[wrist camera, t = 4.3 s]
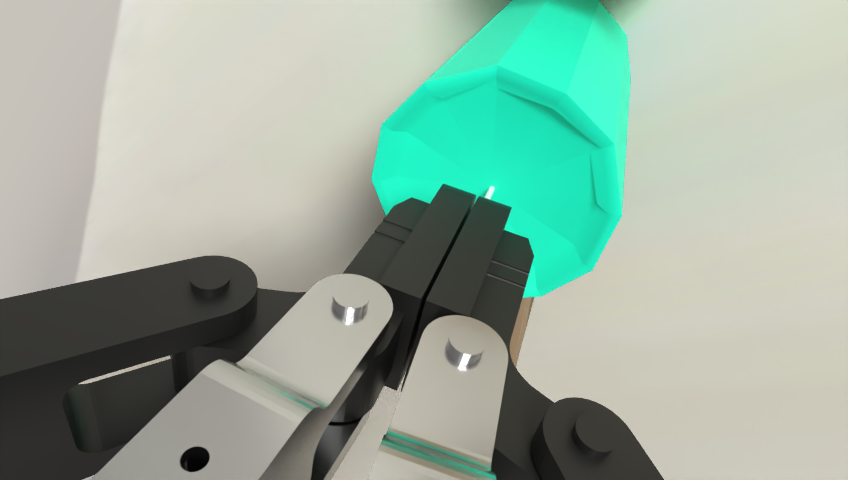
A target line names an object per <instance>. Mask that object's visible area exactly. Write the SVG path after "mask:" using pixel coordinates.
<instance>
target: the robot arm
mask: <svg viewBox="0 0 848 480" xmlns="http://www.w3.org/2000/svg"><path fill="white" fill-rule="evenodd" d="M475 200H476V195H475V194H472V193H469V192H467V191H464V190H461V189H458V188H455V187H452V186H449V185H446V184H442V186H441V187H440V189H439V190H438V192H437V193H436V195H435V196H434V198H433V200H432V201H431V203H430V204H429V203H427V202H424V201H421V200H418V199H415V198H413V197H411V198H409V199H407V200H405V201H403V202H401V203H399V204H397V205H395V206H393V208H392V209H391V210H390V212H389V213H388V214H387V216H386V217H385V218H384V220H383V222H381V224H380V225H379V226H378V228H377V229H376V230H375V233H374V234H372V236H371V237H370V238H369V240H368V241H367V242H366V244H365V245H364V246H363V248H362V249H361V250H360V252H359V253H358V254H357V256H356V257H355V258H354V260H353V261H352V262H351V264H350V265H349V266H348V268H347V269H346V270H345V272H344V273H343V274H336V275H332V276H328V277H326V278H323V279H321V280H320V281H318V282H317V283H316V284H314V285H313V286H312V287H311V288H310V289H309V290H308V291H307V292H299V293H295V292H284V291H276V290H268V289H260V288H257V278H256V276H255V274H254V272H253V271H252V269H250V268H249V267H248V266H247V265H246V264H244V263H242V262H241V261H238V260H236V259H233V258H229V257H224V256H203V257H197V258H192V259H187V260H183V261H178V262H173V263H169V264H164V265H159V266H154V267H150V268H145V269H140V270H136V271H131V272H126V273H122V274H117V275H112V276H108V277H103V278H98V279H94V280H89V281H84V282H80V283H75V284H70V285H66V286H61V287H56V288H51V289H47V290H42V291H37V292H33V293H28V294H23V295H19V296H14V297H9V298H5V299H0V480H82V479H85V478H87V477H90V476H92V475H95V474H96V475H95V476H94V477H93V478H92V479H91V480H331V479H332V477H333V476H334V474H335V472H336V471H337V469H338V467H339V466H340V464H341V463H342V461H343V459H344V458H345V456H346V454H347V453H348V451H349V449H350V448H351V446H352V445H353V443H354V441H355V440H356V438H357V436H358V435H359V433H360V431H361V430H362V428H363V427H364V425H365V423H366V421H367V419H368V417H369V413H370V410H371V409H372V407H373V406H374V404H375V402H376V400H377V398H378V396H379V394H380V392H381V390H382V388H383V386H387V387H389V388H392V389H394V390H397V389H398V387H399V385H400V383H401V381H402V378H403V376H404V374H405V372H406V374H405V378H404V382H403V385H402V389H401V395H400V398H399V401H398V403H397V406H396V409H395V412H394V415H393V417H392V420H391V423H390V426H389V428H388V431H387V433H386V435H384V437H383V439H382V442H381V444H380V447H379V449H378V452H377V455H376V457H375V460H374V463H373V466H372V468H371V471H370V474H369V477H368V480H664V479H663V477H662V476H661V474H660V473H659V471H658V470H657V469H656V467H655V466H654V464H653V463H652V461H651V460H650V458H649V457H648V455H647V454H646V452H645V451H644V449H643V448H642V447H641V445H640V444H639V442H638V441H637V439H636V438H635V436H634V435H633V433H632V432H631V430H630V429H629V428H628V426H627V425H626V424H625V423H624V422H623V421H622V420H621V419H620V418H619V417H618V416H617V415H616V414H615V413H613V412H612V411H611V410H609V409H608V408H606V407H605V406H603V405H601V404H599V403H597V402H594V401H591V400H588V399H583V398H565V399H562V400H559V401H557V402H555V403H554V402H552V401H551V400H550V399H548V398H547V397H545V396H544V395H543V394H541V393H540V392H539V391H537V390H536V389H535V388H533V387H532V386H531V385H530V384H529V383H528V382H527V381H526V380H525V379H524V378H523V377H522V376H521V375H520V373H519V372H518V371H517V369H516V367H515V366H514V363H513V361H512V358H511V354H510V341H511V337H512V333H513V330H514V326H515V323H516V319H517V316H518V312H519V309H520V305H521V301H522V298H523V294H524V291H525V287H526V284H527V280H528V277H529V273H530V269H531V266H532V262H533V259H534V254H533V251H532V248H531V245H530V242H529V239H528V238H526V237H523V236H520V235H517V234H514V233H511V232H509V231H506V230H504V229H505V226H506V223H507V221H508V218H509V215H510V212H511V209H512V207H510V206H507V205H504V204H501V203H498V202H496V201H493V200H490V199H487V198H484V197H481V196H479V197H478V198H477V200H476V202H475ZM474 203H475V204H474ZM169 355H170V357H171V359H169V360H165V361H162V362H159V363H155V364H152V365H149V366H145V367H142V368H139V369H135V370H132V371H129V372H125V373H122V374H119V375H115V376H112V377H109V378H105V379H102V380H99V381H95V382H92V383H88V384H78V383H80V382H83V381H85V380H88V379H91V378H95V377H98V376H101V375H105V374H108V373H111V372H115V371H118V370H121V369H125V368H128V367H132V366H135V365H138V364H142V363H145V362H148V361H152V360H155V359H158V358H162V357H165V356H169ZM406 370H407V371H406Z"/></svg>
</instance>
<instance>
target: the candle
mask: <svg viewBox="0 0 848 480" xmlns="http://www.w3.org/2000/svg"><path fill="white" fill-rule="evenodd" d="M630 81H631V76H630V65H629V55H628V44H627V35H626V34H625V33H624V31H623V30H622V29H621V27H620V26H619V25H618V24H617V22H616V21H615V20H614V19H613V17H612V16H611V15H610V14H609V12H608V11H607V10H606V8H605V7H604V6H603V5H602V3H601V2H600V1H598V0H512V1H511V2H510V3H509V4H508V5H507V6H506V7H505V8H504V9H503V10H502V11H500V12H499V13H498V14H497V15H496V16H495V17H494V18H493V19H492V20H491V21H490V22H489V23H488V24H486V25H485V26H484V27H483V28H482V29H481V30H480V31H479V32H478V33H477V34H476V35H475V36H474V37H473V38H471V39H470V40H469V41H468V42H467V43H466V44H465V45H464V46H463V47H462V48H461V49H460V50H459V51H458V52H456V53H455V54H454V55H453V56H452V57H451V58H450V59H449V60H448V61H447V62H446V63H445V64H444V65H443V66H441V67H440V68H439V69H438V70H437V71H436V72H435V73H434V74H433V75H432V76H431V77H430V78H429V79H428V80H426V81H425V82H424V83H423V84H422V85H421V86H420V87H419V88H418V89H417V90H416V91H415V92H414V93H413V94H412V95H411V96H410V97H409V98H408V99H407V100H406V101H405V102H404V103H403V104H402V105H401V106H400V107H399V108H398V109H397V110H396V111H395V112H394V113H393V114H392V115H391V116H390V117H389V118H388V119H387V120H386V121H385V122H384V123H383V124H382V126H381V132H380V137H379V142H378V147H377V152H376V158H375V163H374V168H373V173H372V178H371V180H372V182H373V185H374V187H375V190H376V192H377V195H378V197H379V200H380V202H381V205H382V207H383V210H384V212H385V215H386V216H387V214H388V213H389V212H390V210H391V209H392V208H393V206H395V205H397V204H399V203H401V202H403V201H405V200H407V199H409V198H411V197H413V198H415V199H418V200H421V201H424V202H427V203H429V204H430V203H431V201H432V200H433V198H434V196H435V195H436V193H437V192H438V190H439V189H440V187H441V186H442V184H446V185H449V186H452V187H455V188H458V189H461V190H464V191H467V192H469V193H472V194H475V195H476V200H477V198H478V197H479V196H481V197H484V198H487V199H490V200H493V201H496V202H498V203H501V204H504V205H507V206H510V207H512V209H511V212H510V215H509V218H508V221H507V223H506V226H505V229H504V230H506V231H509V232H511V233H514V234H517V235H520V236H523V237H526V238H528V239H529V242H530V245H531V248H532V251H533V254H534V259H533V262H532V266H531V269H530V273H529V277H528V280H527V284H526V287H525V291H524V294H523V298H528V297H539V296H543V295H545V294H547V293H549V292H551V291H553V290H554V289H556V288H558V287H560V286H562V285H564V284H566V283H568V282H570V281H572V280H574V279H576V278H578V277H580V276H582V275H584V274H586V273H588V272H590V271H592V270H593V268H594V266H595V264H596V262H597V261H598V259H599V257H600V255H601V253H602V251H603V250H604V248H605V246H606V244H607V242H608V240H609V238H610V237H611V235H612V233H613V231H614V229H615V227H616V226H617V224H618V222H619V220H620V218H621V216H622V204H623V188H624V173H625V158H626V142H627V127H628V112H629V96H630ZM476 200H475V202H476ZM474 204H475V203H474Z"/></svg>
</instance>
